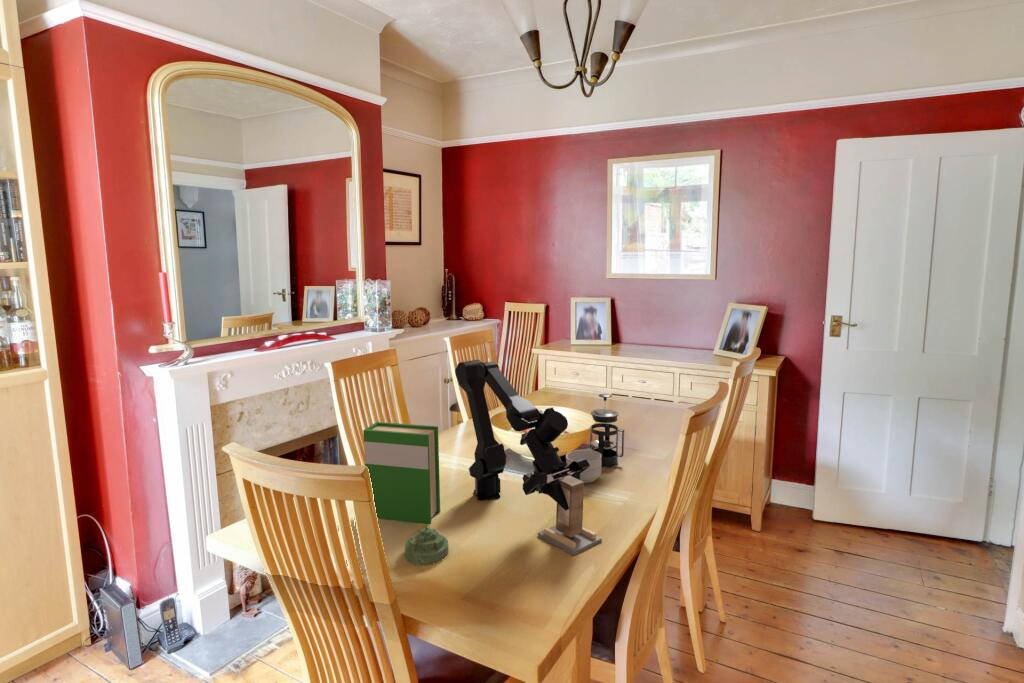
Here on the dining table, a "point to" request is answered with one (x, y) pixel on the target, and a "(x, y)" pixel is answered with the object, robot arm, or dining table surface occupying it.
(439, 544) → the decorative artifact
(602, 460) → the french press
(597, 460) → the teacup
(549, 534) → the grey stand base
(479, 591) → the dining table surface
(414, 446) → the hardback book
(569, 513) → the wooden block
